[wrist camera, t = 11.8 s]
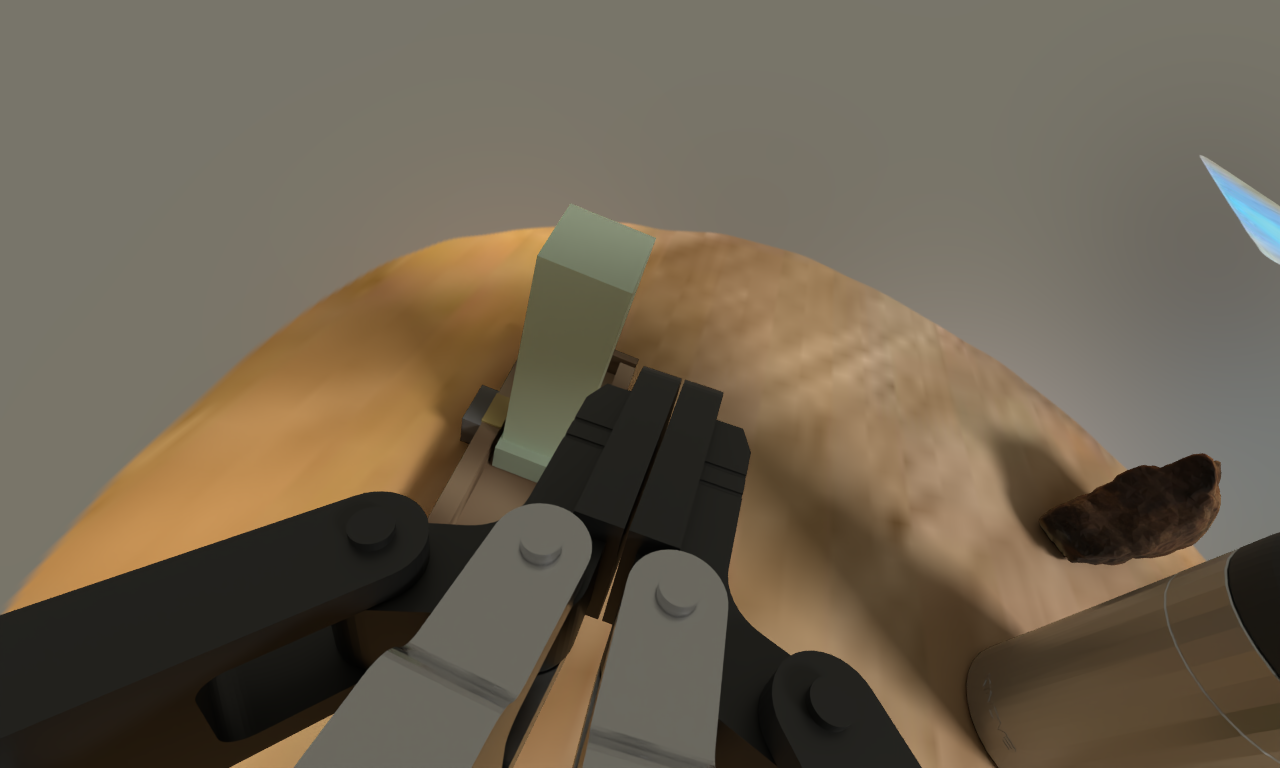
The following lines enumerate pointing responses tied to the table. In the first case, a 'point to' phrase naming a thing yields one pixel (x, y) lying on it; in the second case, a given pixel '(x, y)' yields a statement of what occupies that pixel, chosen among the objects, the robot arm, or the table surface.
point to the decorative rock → (1139, 513)
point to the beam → (475, 482)
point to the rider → (569, 332)
